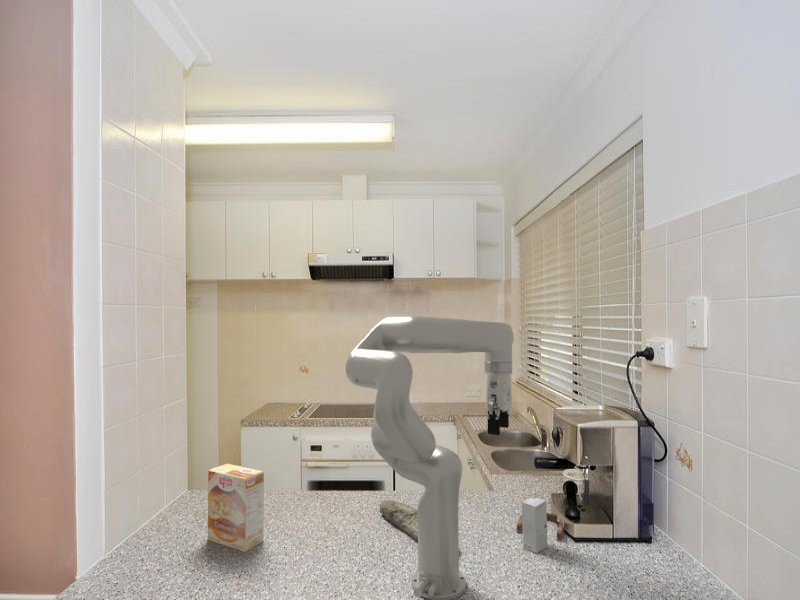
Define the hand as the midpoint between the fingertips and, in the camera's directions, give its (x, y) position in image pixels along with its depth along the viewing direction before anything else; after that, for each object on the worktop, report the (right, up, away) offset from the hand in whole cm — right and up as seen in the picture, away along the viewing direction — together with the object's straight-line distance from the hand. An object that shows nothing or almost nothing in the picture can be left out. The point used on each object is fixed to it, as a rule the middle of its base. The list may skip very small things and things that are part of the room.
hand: (498, 430), depth 121 cm
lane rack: (+15, -31, +9) cm, 36 cm away
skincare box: (+9, -31, -2) cm, 33 cm away
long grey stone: (-23, -32, +8) cm, 40 cm away
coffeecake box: (-73, -32, +2) cm, 80 cm away
